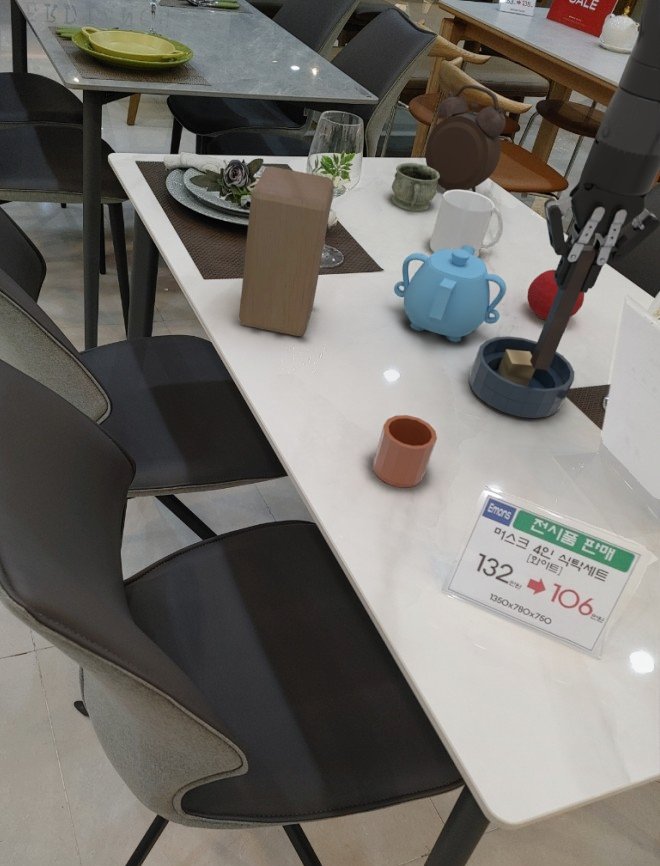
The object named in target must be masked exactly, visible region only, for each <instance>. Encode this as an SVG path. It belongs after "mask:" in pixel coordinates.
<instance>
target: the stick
mask: <svg viewBox="0 0 660 866" xmlns="http://www.w3.org/2000/svg"><path fill="white" fill-rule="evenodd" d="M596 253H597V252H596V251H595V249H594V248H593V245H589V244H586V245H585V246H584V247H583V249H582V251H581V253H580V255H579V257H578V259H577V260H576V262H577V266H576V268H575V270H574V273H573V275H572V278H571V280H570V282H569V285H568V287H567V289H566V290H565V291H564V290H559V289H558V291H557V293H556V296H555V298H554V301H553V304H552V306H551V309H550V311H549V314H548V316H547V319H546V320H545V321H544V324H543V327H542V329H541V332H540V334H539V337H538V339H537V341H536V342H537V344H536V347H535V350H534V352H533V355H532V357H531V360H530V362H531V364H532V366H533V368H534V369H542V370H548V369H549V367H550V364H551V362H552V360H553V357H554V355H555V352H557V349H558V348H559V345H560V343H561V340H562V338H563V335H564V334H565V330H566V328H567V326H568V323H569V321H570V319H571V317H570V316H571V314H572V311H573V309H574V306H575V304H576V302H577V299H578V297H579V294H580V292H581V289H582V287H583V284H584V282H585V280H586V277H587V275H588V272H589V270H590V267H591V265H592V263H593V260H594V258H595V256H596Z"/></svg>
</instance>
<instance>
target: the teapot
mask: <svg viewBox="0 0 660 866" xmlns="http://www.w3.org/2000/svg"><path fill="white" fill-rule="evenodd" d="M474 253H475V249H474V248H473V247H470V246H467V245H463V246H462V247H461V249H454V250H451V249H441V250H438V251H436V252H432V254H431V255H429V256H428V255H426V254H425V253H422V252H414V253H411V254H408V256H407V257H405V259H404V261H403V263H402V269H401V270H402V281H397V282H396V283H395V285H394V286H393V292H394V294H395V295H396V296H398V297H399V298H403V308H404V311H405V313H406V316H407V318H408V320H409V322H411V323H410V327H411V329H413V330H415V331H420V332H422V331H424V330H425V331H427V332H428V331H429V332H432V333H435V334H437V335H438V334H439V335H443V336H445V338H446V339H447V340H449V341H450V342H455V343H458V342H460V341H461V340H462V337H464V336H467V335H469V334H470V333H473V332H474V331H475V330H476V329H478V328H479V327H481V325H482V324H483V322H485V323H486V324H489V325H491V324H496V323H497V322H498V320H499V319H500V312H499V311H498V309H495V308H496V307H497V306H498V305H499V304H500V302H501V301H502V300H503V298H504V297H505V294H506V291H507V285H506V282H505V280H504V279H503V278H502V277H501V276H499V275H497V274H494V273H488V270H487V264H486V263H485V262H484V261H483V260H482V259H481V258H480V257H479V256H478V257H476V256H473V255H474ZM412 261H420V262H422V264H421V265H420V266H419V268H418V269H417V270H416V272H415V273H414V274H413V276H412V277H411V279H410V275H409V266H410V263H411V262H412ZM490 282H492V283H495V284H496V285H497V286H498V287H499V291H498V294H497V295H496V297H495V298H494V299H493V301H492V302H491V303H490V300H491V287H490ZM400 287H403V290H402V289H400ZM491 314H492V315H493V317H492V316H490V315H491Z"/></svg>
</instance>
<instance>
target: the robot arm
mask: <svg viewBox="0 0 660 866" xmlns="http://www.w3.org/2000/svg"><path fill="white" fill-rule="evenodd" d="M659 171H660V0H644V1H643V6H642V9H641V15H640V19H639V28H638V33H637V37H636V40H635V43H634V44H633V47H632V50H631V52H630V54H629V57H628V60H627V62H626V64H625V67H624V70H623V72H622V75H621V77H620V79H619V83H618V85H617V87H616V90H615V91H614V93H613V95H612V97H611V99H610V100H609V103H608V104H607V107H606V109H605V111H604V114H603V117H602V119H601V122H600V125H599V127H598V129H597V132H596V134H595V137H594V139H593V143H592V144H591V147H590V149H589V153H588V155H587V158H586V160H585V162H584V165H583V168H582V171H581V174H580V178H579V181H578V182H577V183H576V185H575V186H574V187H573V188H572V189H571V190H570V192H569V194H568V196H565V197H563V198H560V199H557V200H555V199H553V198H548V199H546V200H545V202H544V204H543V209H544V214H545V220H546V226H547V232H548V233H547V234H548V239H549V245H550V246H551V247H552V249H553V251H554V253H555V255H557V256H560V259H559V262H558V264H557V267H556V269H555V270H556V271H555V274H554V280H555V282H556V285H557V287H558V289H559V290H564V291H565V290H566V289H567V287H568V285H569V282H570V280H571V278H572V275H573V273H574V270H575V268H576V266H577V262H576V260H577V259H578V257H579V255H580V253H581V251H582V249H583V247H584V246H585V245H588V244H589V242H590V240H591V238H592V236H593V235H594V237H595V238H594V241H593V243H592V247H593V248H594V249H595V251H596V252H597V253H596V256H595V258H594V260H593V263H592V265H591V267H590V270H589V272H588V275H587V277H586V280H585V282H584V284H583V287H582V289H581V292H582V293H584V294H586V293H587V292H588V290H589V289H591V290H592V289H593V287H594V286H595V284H596V282H597V280H598V278H599V275H600V273H601V271H602V269H603V266H604V265H606V264H607V263H609V262H615V263H620V262H622V261H623V260H625V258H627V257H628V256H629V255H630V254H631V253H632V252H633V251H634V250H635V249H636V248H638V246H639V245H640V244H642V243H643V242H644V241H645V240H646V239H648V237H649V236H651V234H652V233H654V232H655V231H656V230H657V229H658V228H659V227H660V220H659V219H658V218H657V216H656V215H655V214H654V212H652V211H651V210H648V209H646V206H647V195H648V193H649V192H650V191H651V189H652V187H653V185H654V182H655V180H656V178H657V176H658V175H659ZM570 209H571V212H572V215H573V221H572V224H571V225H570V227H569V233H568V236H567V238H566V239H565V233H564V226H563V221H564V220H565V219H566V218H567V216H568V211H569V210H570ZM630 223H631V224H630ZM629 224H630V225H629ZM627 225H629V226H628V227H626V226H627ZM625 227H626V229H624V230H623V232H622V233H620V232H621V230H622V229H623V228H625Z"/></svg>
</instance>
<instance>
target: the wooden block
mask: <svg viewBox="0 0 660 866" xmlns="http://www.w3.org/2000/svg"><path fill="white" fill-rule="evenodd" d="M334 183H335V182H334V180H333V179H331V178H330V177H328V176H323V175H318V174H314V173H307V172H303V171H297V170H292V169H287V168H282V167H277V166H271V165H270V166H266V167H265V168H264V169H263V171H262V173H261V175H260V177H259V178H258V180H257V183H255V186H254V188H253V190H252V192H251V193H250V194H251V195H250V205H249V213H248V214H249V215H248V225H247V235H246V243H245V244H246V245H245V253H244V262H243V264H244V265H243V272H242V282H241V283H242V284H241V292H240V302H239V304H240V305H239V312H238V319H239V323H240V324H241V325H243V326H245V327H251V328H256V329H261V330H266V331H272V332H275V333H280V334H286V335H291V336H295V337H301V336H303V335H304V334H305V332H306V331H307V328H308V325H309V321H310V318H311V314H312V311H313V307H314V304H315V297H316V292H317V286H318V282H319V281H318V280H319V275H320V269H321V264H322V259H323V258H322V257H323V252H324V247H325V241H326V235H327V231H328V230H327V229H328V223H329V218H330V212H331V206H332V200H333V194H334V191H335V184H334Z"/></svg>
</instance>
